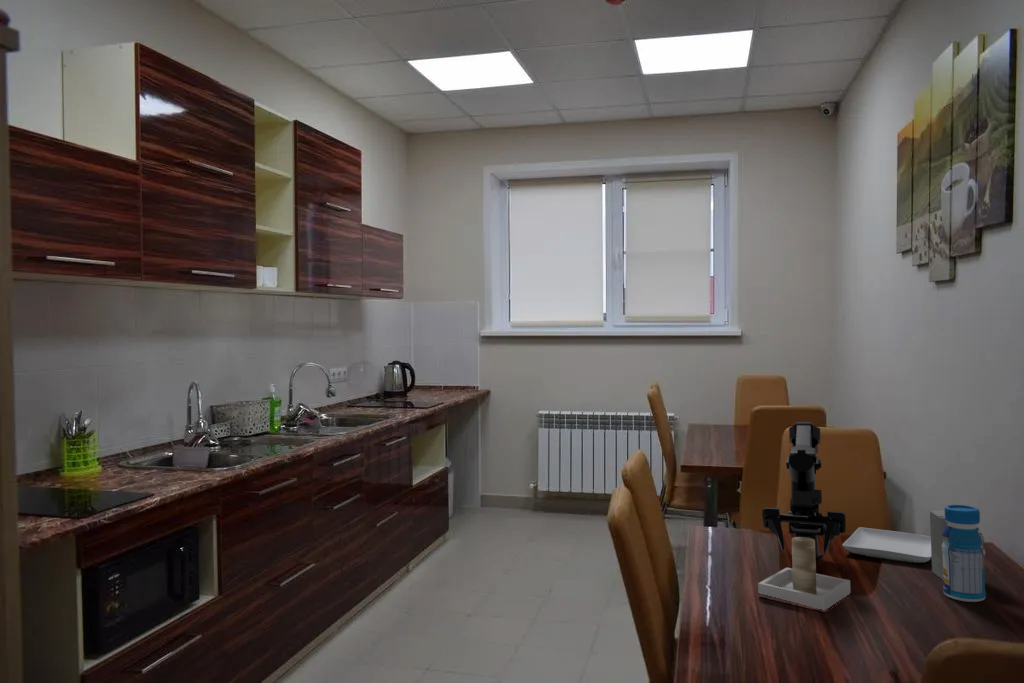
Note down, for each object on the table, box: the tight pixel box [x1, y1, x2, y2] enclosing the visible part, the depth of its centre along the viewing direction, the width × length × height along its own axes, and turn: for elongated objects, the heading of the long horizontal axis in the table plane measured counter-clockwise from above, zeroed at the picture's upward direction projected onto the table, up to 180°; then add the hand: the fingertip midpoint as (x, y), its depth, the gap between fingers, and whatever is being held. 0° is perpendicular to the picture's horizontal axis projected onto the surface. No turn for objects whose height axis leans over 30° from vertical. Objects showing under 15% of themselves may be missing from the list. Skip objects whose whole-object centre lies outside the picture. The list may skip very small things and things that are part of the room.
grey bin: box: [757, 567, 851, 610], centre depth 168 cm, size 15×15×3 cm
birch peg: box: [791, 536, 817, 595], centre depth 168 cm, size 5×5×12 cm
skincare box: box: [929, 510, 978, 581], centre depth 177 cm, size 8×7×16 cm
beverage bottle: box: [941, 504, 987, 603], centre depth 164 cm, size 8×8×20 cm
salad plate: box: [842, 526, 932, 564], centre depth 199 cm, size 21×21×3 cm
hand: (803, 551), depth 173 cm, fingers open, 9 cm apart
